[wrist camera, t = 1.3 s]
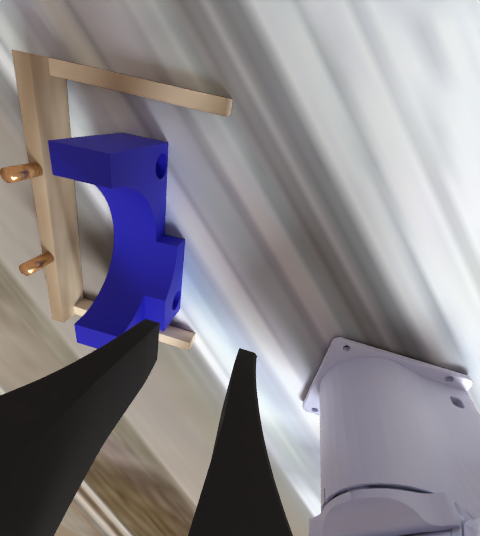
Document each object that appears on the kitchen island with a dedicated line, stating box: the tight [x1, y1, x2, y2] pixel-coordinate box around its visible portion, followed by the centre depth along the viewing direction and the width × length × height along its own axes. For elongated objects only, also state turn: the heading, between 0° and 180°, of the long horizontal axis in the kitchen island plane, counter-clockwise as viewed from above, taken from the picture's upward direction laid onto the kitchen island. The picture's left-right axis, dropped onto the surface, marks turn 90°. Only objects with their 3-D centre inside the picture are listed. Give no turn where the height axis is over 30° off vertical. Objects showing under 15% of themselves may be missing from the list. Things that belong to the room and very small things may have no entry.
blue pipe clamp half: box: [48, 133, 185, 349], centre depth 18 cm, size 12×4×6 cm, turn 171°
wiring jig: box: [0, 50, 233, 350], centre depth 19 cm, size 11×18×4 cm, turn 169°
